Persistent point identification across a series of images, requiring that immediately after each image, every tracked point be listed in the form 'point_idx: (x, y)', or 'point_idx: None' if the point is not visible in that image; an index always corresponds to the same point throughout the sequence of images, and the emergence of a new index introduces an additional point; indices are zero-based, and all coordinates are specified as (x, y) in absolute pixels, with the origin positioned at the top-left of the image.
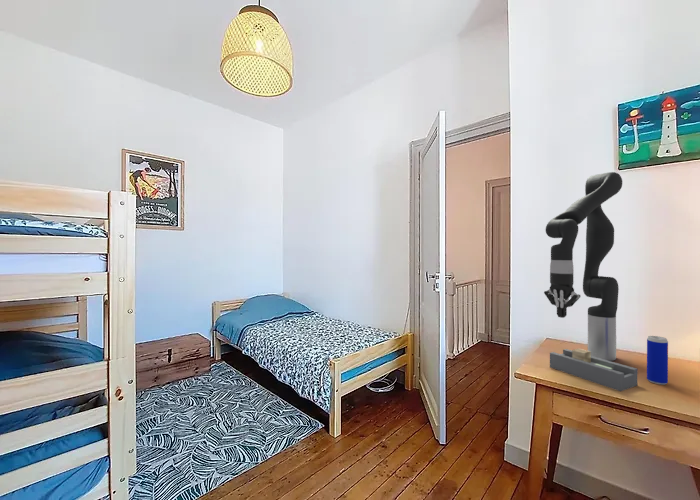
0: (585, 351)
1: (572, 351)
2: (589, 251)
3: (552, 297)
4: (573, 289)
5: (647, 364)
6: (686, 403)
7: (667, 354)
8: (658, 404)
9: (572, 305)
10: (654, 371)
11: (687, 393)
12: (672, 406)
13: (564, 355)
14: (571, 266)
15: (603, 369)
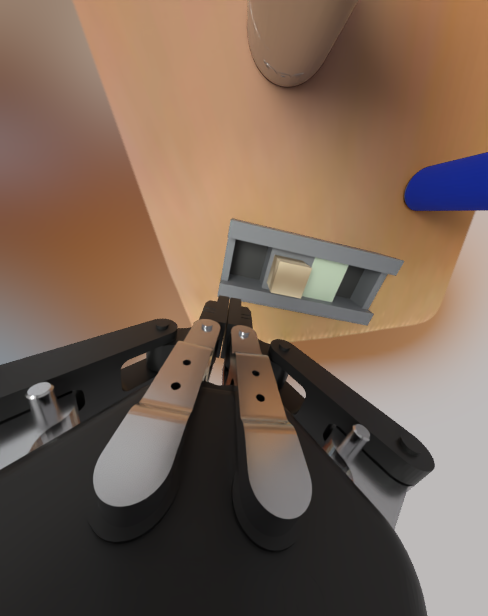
0: (300, 279)
1: (270, 290)
2: None
3: (114, 386)
4: (411, 593)
5: (437, 197)
6: (440, 280)
7: None
8: (396, 318)
9: (297, 348)
10: (438, 210)
11: (461, 221)
12: (414, 310)
13: (251, 290)
14: None
15: (337, 319)
